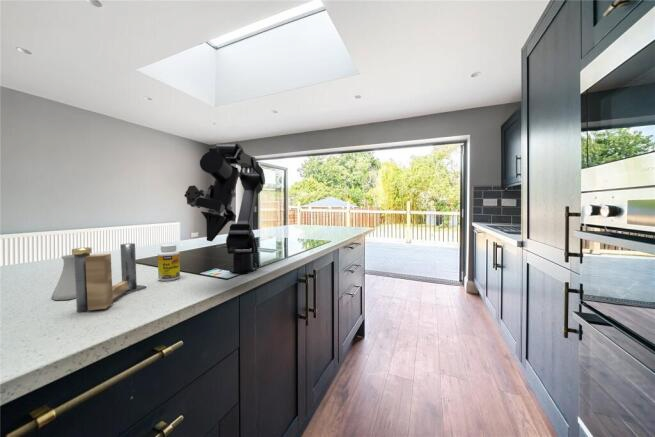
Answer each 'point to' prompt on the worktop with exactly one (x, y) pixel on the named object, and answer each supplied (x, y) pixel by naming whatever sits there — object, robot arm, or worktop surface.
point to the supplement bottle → (168, 263)
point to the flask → (66, 281)
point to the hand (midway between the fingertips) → (209, 241)
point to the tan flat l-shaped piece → (101, 282)
